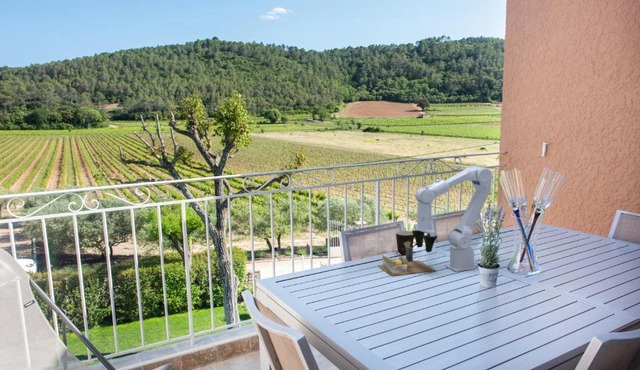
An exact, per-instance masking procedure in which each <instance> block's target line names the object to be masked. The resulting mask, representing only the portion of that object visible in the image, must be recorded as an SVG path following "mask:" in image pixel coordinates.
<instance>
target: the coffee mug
mask: <svg viewBox="0 0 640 370" xmlns="http://www.w3.org/2000/svg"><path fill="white" fill-rule="evenodd" d="M395 238H396V247H397V253H398V252H399V253H400V254H401V255H400V256H402V257H404V256H405V257H406V247H412V248H413V249H414V248H415V247H417V245H416V243H415V244H414V241H415V237H414V235H413V233H412V230H411V231H410V230H398V231H396V232H395Z"/></svg>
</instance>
